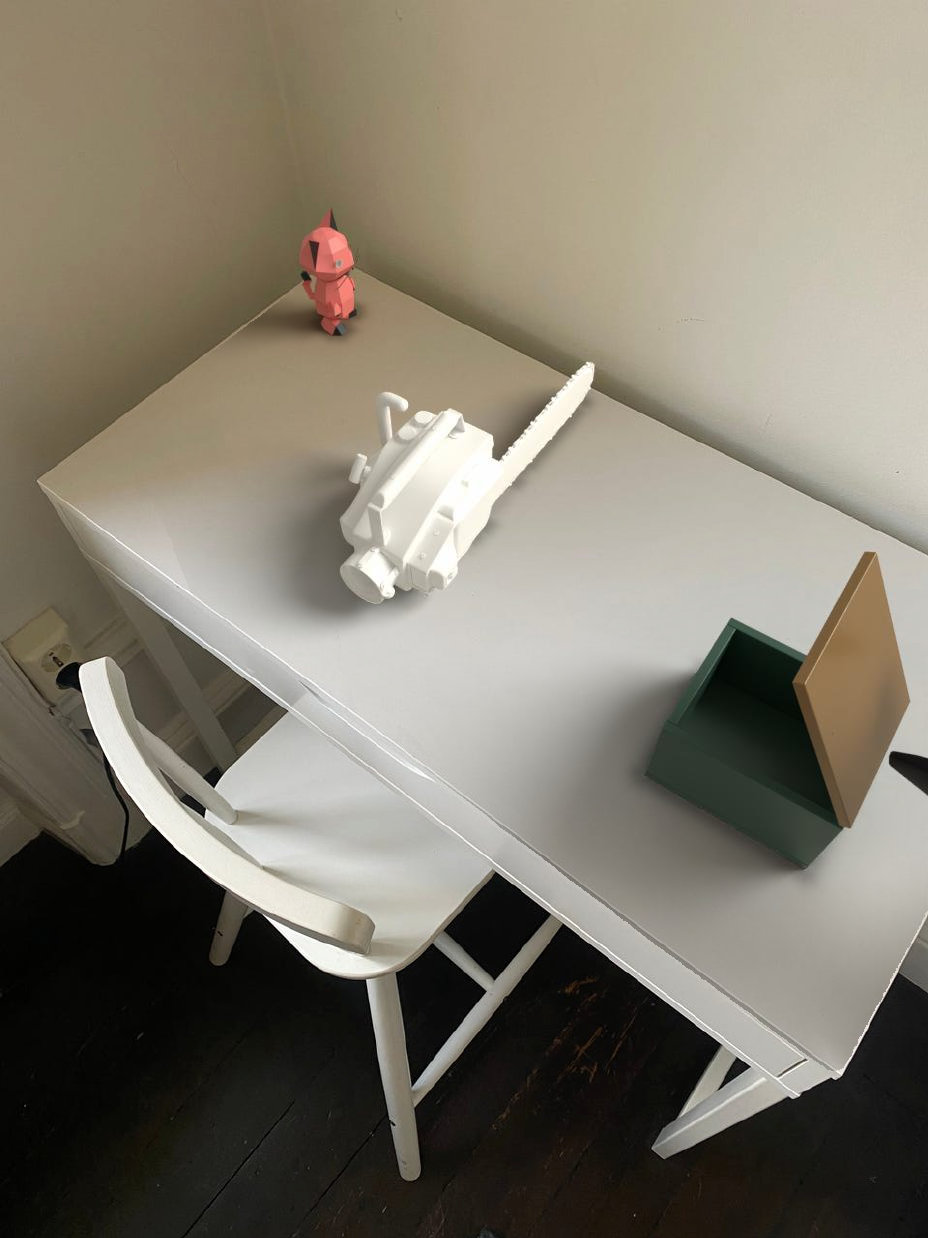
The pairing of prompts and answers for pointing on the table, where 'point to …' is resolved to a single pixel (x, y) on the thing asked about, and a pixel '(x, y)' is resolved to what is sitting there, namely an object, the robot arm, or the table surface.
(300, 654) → the table surface
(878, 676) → the lid
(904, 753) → the robot arm
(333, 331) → the cat figurine
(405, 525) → the chainsaw
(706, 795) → the green open box
